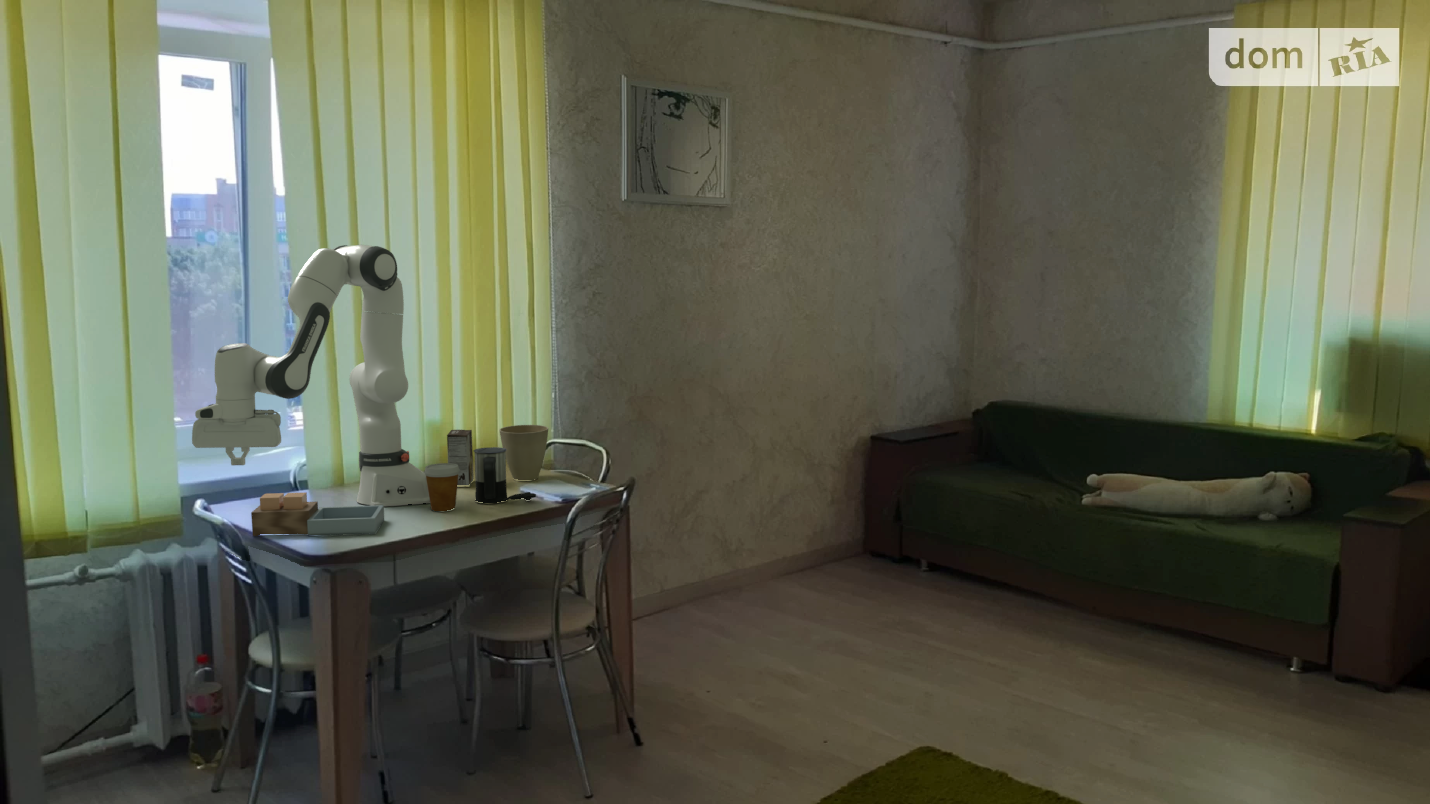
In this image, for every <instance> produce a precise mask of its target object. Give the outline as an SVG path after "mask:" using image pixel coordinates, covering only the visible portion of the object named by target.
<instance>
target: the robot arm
mask: <svg viewBox="0 0 1430 804" xmlns="http://www.w3.org/2000/svg"><path fill="white" fill-rule="evenodd" d="M345 285H348V286H354V287H360V289H361V290H362V295H363V299H362V306H361V318H360V319H361V321H360V334H359V335H360V336H359V337H360V338H359V340H360V343H361V346H362V347H361V348H362V353H363V360H364V361H363V362H361V363H359V364H357V365H356V366H354V367H353V368H352V370H351V371H350V374H349V379H348V380H349V384H350V387H351V390H352V396H353V399H354V400H353V401H354V406H355V411H356V414H357V420H358V427H359V444H360V445H359V446H360V450H359V452H358V469H359V472H360V477H359V480H360V481H359V488H358V493H357V497H356V498H357V499H356V502H357V503H358V504H362V505H365V506H376V505H384V508H385V507H396V506H399V507H400V506H409V505H408V504H412V505H423V503H426V504H430V498H429V492H428V486H427V480H426V475H425V473H424V471H422V470H421V469H420V468H418V467H416V466H415V465H414V464H413V463H411V462H410V451H409V450H404V449H403V448H402V431H401V428H402V427H401V425H402V424H401V421H400V418H399V415H398V411H397V409H396V404H395V403H397V402H399V401H401V400H403V398H404V397H405V396H406V395H407V392H408V389H409V381H408V378H407V375H406V371H405V361H404V360H405V359H404V353H403V326H404V325H403V324H404V309H405V308H404V306H405V303H404V300H405V299H404V290H403V283H402V280H400V278H399V277H398V263H397V260H396V257H395V256H394V254H393V253H392V252H391V250H388V249H387V248H385V247H382V246H378V245H368V244H357V245H355V244H354V245H347V244H345V245H344V244H343V245H338V246H336V247H334V248H326V247H325V248H324V247H323V248H319V249H317V250H316V251H315V252H314V253H313V254H312V255H311V256H310V257H309V259H308V260H307V261H306V262H305V263H304V265H303V266H302V267H301V269H300V271H299V272H298V274H297V276H296V278H294V281H293V282H292V284H291V286H290V288H289V291H288V296H287V303H288V305H289V308H290V309H291V311H292V313H294V315H295V316H297V317H298V320H299V326H298V329H297V332H296V333H295V336H294V338H293V341H292V343H291V344H290V347H289V350H288V351H287V352H286V353H285V354H284V355H282V356H276V355H275V356H274V355H269V354H267V353H264V352H261V351H259V350H257V349H255V348H254V347H252V346H251V345H250V344H248V343H244V342H240V343H239V342H238V343H230V344H227V345H223V346H222V347H219V349H217V351H216V352H215V353H216V354H215V357H214V382H215V385H216V394H215V403H212V404H208V405H207V406H204V407H201V408H198V409H197V410H196V411H195V413H194V414H195V415H194V416H195V418H196V420H195V421H194V422H193V425H192V430H191V431H192V432H191V443H192V445H193V446H194V448H196V449H203V448H204V449H207V448H209V449H212V448H215V449H218V448H219V449H220V448H221V449H223V448H224V449H225V453H226V455H227V456H228V457H229V458H230V465H231V466H245V465H246V458H247V456H248V454H249V452H250V450H251V449H250V448H277V447H278V446H279V445H281V443H282V433H281V428H280V426H281V423H282V422H281V421H282V419H281V418H282V417H281V415H280V413H279V412H278V411H275V410H274V409H256V393H262V394H266V395H270V396H271V395H272V396H276V397H279V398H282V399H288V400H289V399H295V398H297V397H300V396H301V395H302V394H303V393H304V392H305V391H307V390H306V389H307V388H308V386H309V384H310V379H311V374H312V373H311V372H312V367H313V364H314V361H315V358H316V356H317V353H318V351H319V349H320V346H321V344H322V342H323V339H324V336H325V334H326V331H327V329H328V326H329V324H330V323H329V322H330V319H331V311H332V309H333V306H334V304H335V302H336V300H337V298H338V296H339V294H340V292H341V290H342V288H343V286H345ZM235 448H240V449H241V452H242V455H241V456H239V457H237V456H236V455H235V454H234V452H233V451H235Z"/></svg>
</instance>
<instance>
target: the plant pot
mask: <svg viewBox="0 0 1430 804" xmlns="http://www.w3.org/2000/svg"><path fill="white" fill-rule="evenodd" d="M548 434H549V426H546V425H540V424H519V425H518V424H517V425H516V424H515V425H510V426H509V425H508V426H503V427H501V428H499V436H500V441H501V448H505V449H507V450H506V465H507V467H508V469H509V472H510V474H511V477H512V479H513V478H514V479H518V480H534V479H537V478H539V476H540V474H541V470H542V466H543V463H544V459H545V454H546V450H547V444H548V443H547V442H548V437H549V435H548ZM514 479H513V480H514ZM537 480H538V479H537ZM534 481H535V480H534Z"/></svg>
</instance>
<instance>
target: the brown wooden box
mask: <svg viewBox="0 0 1430 804" xmlns="http://www.w3.org/2000/svg"><path fill="white" fill-rule="evenodd" d="M318 509H319V502H318V500H317V501H307V505H306V506H305V507H304V508H303V509H284V506H283V507H281V508H280V509H274V510H260V505H258V506H257V507H256V508H255V509H253V510H252V511H251V513H250V514H251V528H252V529H251V531H252V537H259V536H258V535H260V534H304V535H308V526H307V520H308V519H309V518H310V517H311V516H312V515H313V514H314V513H315V512H316V511H317V510H318Z"/></svg>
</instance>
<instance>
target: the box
mask: <svg viewBox="0 0 1430 804" xmlns="http://www.w3.org/2000/svg"><path fill="white" fill-rule="evenodd" d="M384 521H385V507H384V505H376V506H371V505H352V506H351V505H349V506H348V505H347V506H322V507H321V506H320V507H318V510H317V511H316V512H315V513H314V514H313V515H312V516H311V517H310V518H309V519H308V520H307V526H308V534H307V536H308V535H333V536H344V535H343V534H361V535H376V534H377V532H378V531H379V529H380V528H381V526H382V524H383V523H384ZM379 527H380V528H379ZM375 533H376V534H375Z"/></svg>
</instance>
